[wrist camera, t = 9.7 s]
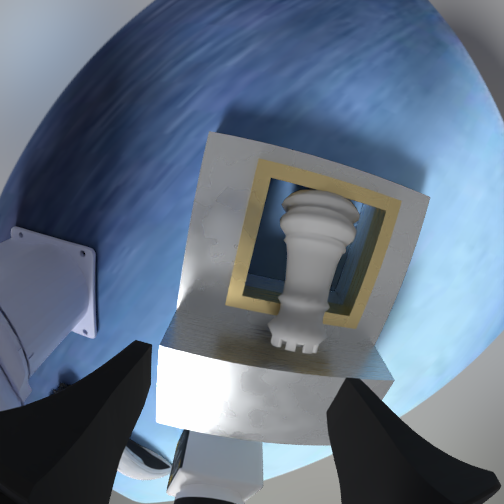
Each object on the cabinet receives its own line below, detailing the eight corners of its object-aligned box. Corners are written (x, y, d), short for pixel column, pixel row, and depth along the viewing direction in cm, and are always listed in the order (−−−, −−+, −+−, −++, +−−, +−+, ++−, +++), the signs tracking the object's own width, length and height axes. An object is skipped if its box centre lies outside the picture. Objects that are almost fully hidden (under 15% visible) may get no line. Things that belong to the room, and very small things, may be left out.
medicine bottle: (192, 409, 23) (169, 520, 12) (263, 428, 24) (266, 535, 13) (177, 443, 25) (156, 533, 14) (238, 459, 26) (234, 548, 15)
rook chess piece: (330, 180, 13) (296, 358, 11) (374, 215, 15) (350, 357, 14) (267, 193, 16) (235, 335, 15) (316, 220, 19) (291, 341, 17)
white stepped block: (174, 368, 22) (156, 421, 16) (214, 134, 16) (194, 120, 11) (333, 394, 22) (348, 445, 17) (414, 193, 17) (468, 208, 12)
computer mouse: (152, 475, 29) (146, 496, 25) (44, 401, 25) (31, 420, 21) (194, 461, 27) (189, 486, 23) (66, 373, 23) (49, 396, 19)
